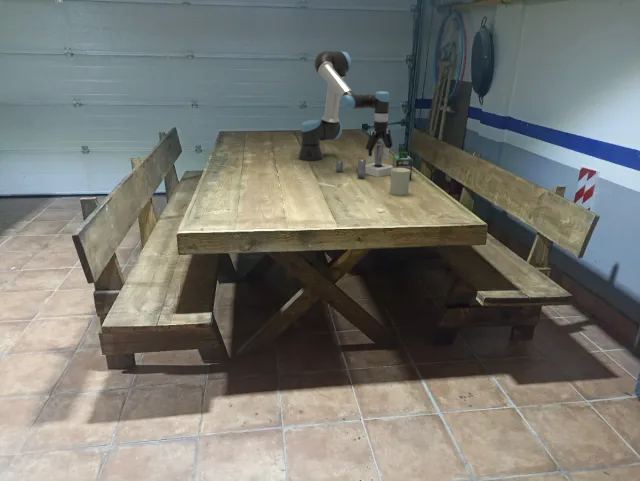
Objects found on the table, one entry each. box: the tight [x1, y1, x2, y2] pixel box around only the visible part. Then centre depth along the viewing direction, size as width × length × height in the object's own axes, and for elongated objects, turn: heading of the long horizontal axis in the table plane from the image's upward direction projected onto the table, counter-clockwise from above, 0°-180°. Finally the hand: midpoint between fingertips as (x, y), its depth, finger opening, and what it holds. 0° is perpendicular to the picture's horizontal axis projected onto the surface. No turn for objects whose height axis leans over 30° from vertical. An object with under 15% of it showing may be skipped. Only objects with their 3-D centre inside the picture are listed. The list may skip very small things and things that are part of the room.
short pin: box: [335, 160, 344, 174], centre depth 277 cm, size 4×4×6 cm
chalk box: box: [392, 151, 414, 181], centre depth 263 cm, size 9×9×15 cm
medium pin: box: [357, 158, 367, 180], centre depth 263 cm, size 4×4×10 cm
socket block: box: [365, 162, 393, 178], centre depth 276 cm, size 14×14×4 cm
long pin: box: [374, 143, 384, 168], centre depth 273 cm, size 4×4×16 cm
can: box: [389, 168, 410, 196], centre depth 237 cm, size 9×9×12 cm
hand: (378, 160), depth 274 cm, fingers open, 11 cm apart
